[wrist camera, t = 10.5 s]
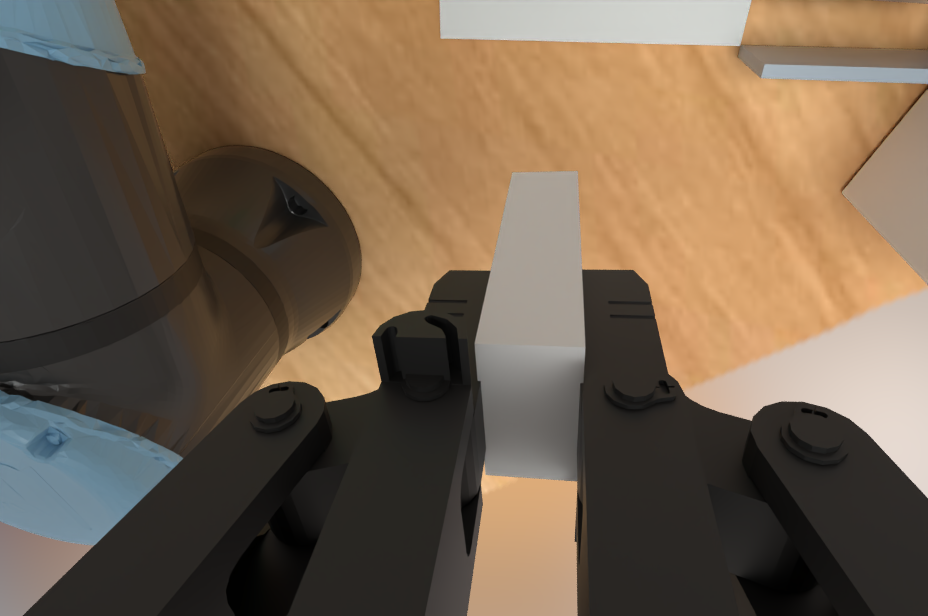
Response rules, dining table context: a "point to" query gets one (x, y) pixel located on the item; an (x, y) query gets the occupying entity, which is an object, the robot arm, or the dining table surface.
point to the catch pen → (837, 63)
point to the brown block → (910, 0)
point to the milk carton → (899, 188)
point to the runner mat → (597, 21)
